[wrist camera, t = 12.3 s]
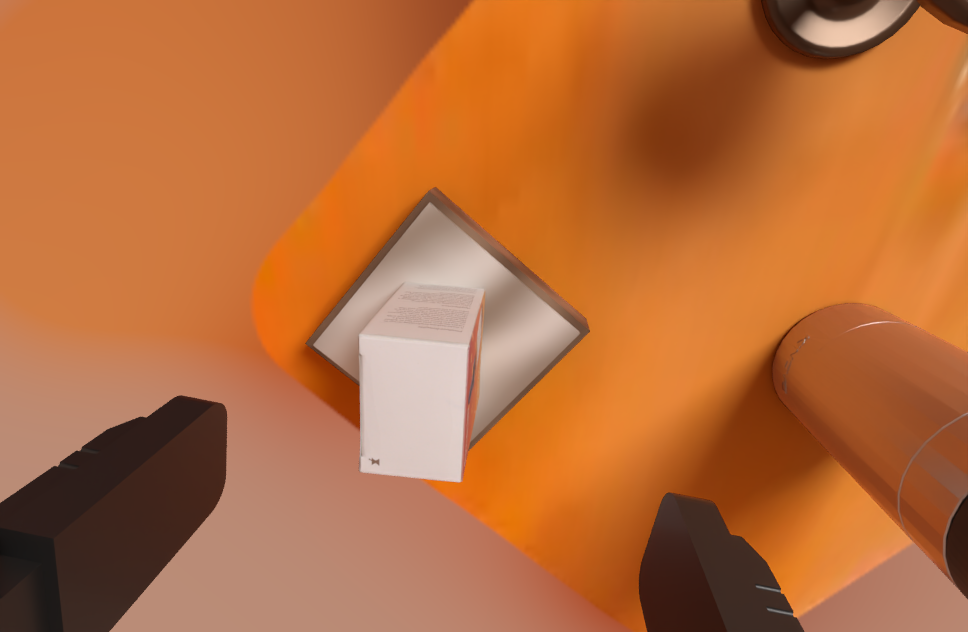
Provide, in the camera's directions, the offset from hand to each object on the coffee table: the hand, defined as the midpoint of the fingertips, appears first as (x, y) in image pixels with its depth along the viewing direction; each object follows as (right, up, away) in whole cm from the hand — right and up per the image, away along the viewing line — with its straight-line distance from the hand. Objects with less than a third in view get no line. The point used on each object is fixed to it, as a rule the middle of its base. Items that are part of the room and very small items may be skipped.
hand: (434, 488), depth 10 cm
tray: (-2, +2, +30) cm, 30 cm away
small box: (-2, +2, +28) cm, 28 cm away
